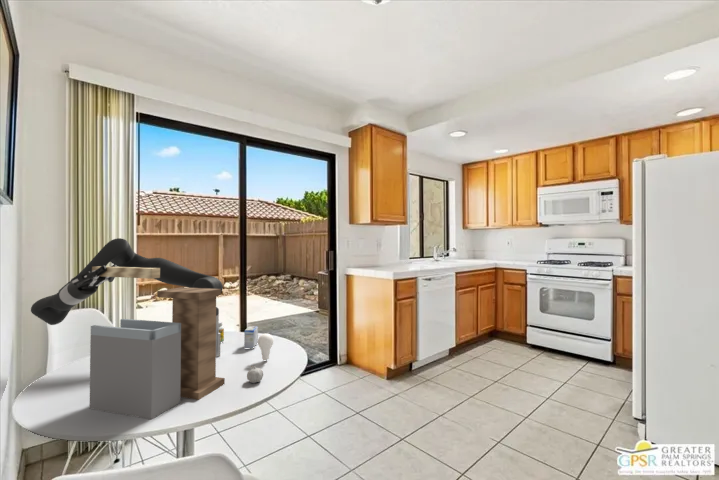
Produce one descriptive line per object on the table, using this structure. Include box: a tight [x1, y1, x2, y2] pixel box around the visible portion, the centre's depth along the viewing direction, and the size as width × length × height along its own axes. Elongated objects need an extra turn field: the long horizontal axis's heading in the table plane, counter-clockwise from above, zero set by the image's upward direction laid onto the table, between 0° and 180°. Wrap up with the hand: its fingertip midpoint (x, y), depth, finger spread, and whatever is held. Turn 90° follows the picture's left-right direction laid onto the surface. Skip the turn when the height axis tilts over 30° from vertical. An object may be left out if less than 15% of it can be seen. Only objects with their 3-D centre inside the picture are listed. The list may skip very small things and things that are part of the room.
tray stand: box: [89, 318, 181, 420], centre depth 99 cm, size 22×10×24 cm, turn 75°
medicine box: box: [243, 325, 259, 349], centre depth 156 cm, size 8×4×9 cm, turn 5°
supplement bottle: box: [219, 321, 225, 344], centre depth 163 cm, size 5×5×10 cm
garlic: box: [246, 365, 264, 384], centre depth 116 cm, size 6×5×5 cm
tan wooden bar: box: [92, 265, 160, 280], centre depth 115 cm, size 26×3×3 cm, turn 74°
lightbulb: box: [257, 333, 275, 361], centre depth 136 cm, size 6×6×11 cm
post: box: [156, 286, 226, 401], centre depth 111 cm, size 18×12×32 cm, turn 75°
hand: (110, 267), depth 117 cm, fingers closed on tan wooden bar, 3 cm apart
